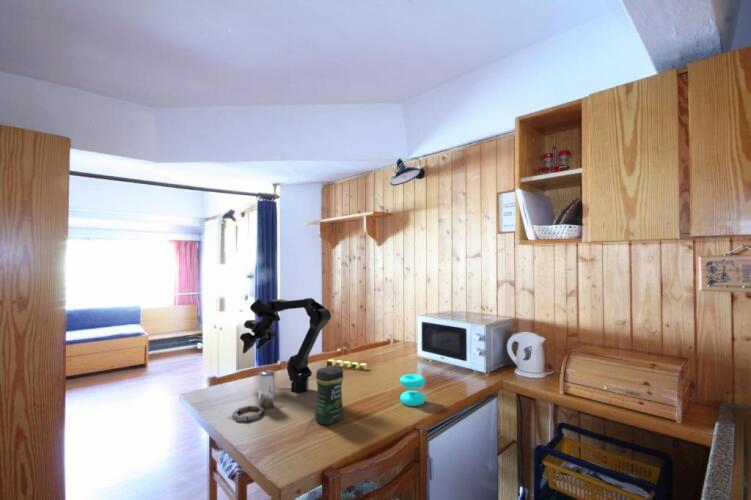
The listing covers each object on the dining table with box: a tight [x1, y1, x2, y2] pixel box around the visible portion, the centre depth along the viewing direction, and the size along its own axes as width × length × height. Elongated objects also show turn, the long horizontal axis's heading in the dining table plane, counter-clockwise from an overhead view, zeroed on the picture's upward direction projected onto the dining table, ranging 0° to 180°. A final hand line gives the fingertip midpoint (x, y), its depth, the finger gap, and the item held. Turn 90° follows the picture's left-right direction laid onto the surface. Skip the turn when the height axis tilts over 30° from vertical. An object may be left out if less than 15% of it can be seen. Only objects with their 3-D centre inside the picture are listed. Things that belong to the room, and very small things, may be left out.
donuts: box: [399, 373, 426, 407], centre depth 138 cm, size 10×10×10 cm
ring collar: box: [231, 404, 264, 423], centre depth 123 cm, size 10×10×2 cm
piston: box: [257, 369, 275, 410], centre depth 131 cm, size 6×6×13 cm
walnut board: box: [226, 400, 288, 426], centre depth 127 cm, size 19×11×1 cm, turn 151°
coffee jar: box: [314, 365, 344, 426], centre depth 123 cm, size 10×8×19 cm
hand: (250, 350), depth 160 cm, fingers open, 9 cm apart
